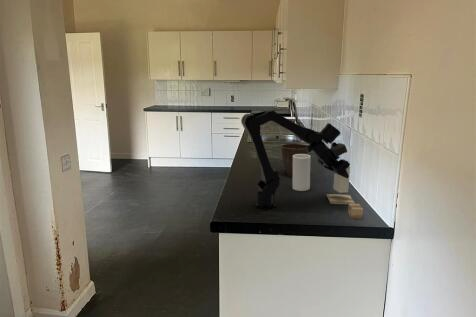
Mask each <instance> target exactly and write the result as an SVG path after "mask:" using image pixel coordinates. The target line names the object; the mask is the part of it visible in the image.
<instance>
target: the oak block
mask: <svg viewBox="0 0 476 317" xmlns="http://www.w3.org/2000/svg"><path fill="white" fill-rule="evenodd" d="M347 211H348V212H347V213H348V215H349V217H350V219H351V220H363V219H364V218H363V215H364V209H363V207H362V206H361V204H360V203H355V204H348V209H347Z"/></svg>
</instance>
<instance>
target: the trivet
mask: <svg viewBox="0 0 476 317" xmlns="http://www.w3.org/2000/svg"><path fill="white" fill-rule="evenodd" d="M326 197H327V199H328V201H329V204H330V205H331V204H332V205H349V204H356V202H355V201H354V199H353V198H352V197H351V195H350V194H330V193H329V194H328V193H327V194H326Z"/></svg>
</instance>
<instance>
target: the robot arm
mask: <svg viewBox="0 0 476 317" xmlns="http://www.w3.org/2000/svg"><path fill="white" fill-rule="evenodd" d="M240 120H241V125H242V127H243V129H244V130H245V132H246V133H247V135H248V137H249V138H250V141H251V143H252V147H253V150H254V152H255V155H256V159H257V162H258V164H259V167H260V178H261V180H260V181H258V182H257V183H256V188H257V190H258V191H257V203H255V204H254V206H255V207H258V208H260V209H263V210H269V209H272V208H275V207H277V204H275V193H276V191H277V189H278V188H279V186H280V185H281V182H280V181H281V178H280V176H279V171H278V170H277V169H276V168H275V167H272V166H271V163H270V160H269V156H268V154H267V151H266V148H265V145H264V142H263V139H262V135H261V126H262V125H264V124H266V123H269V122H272V123H275V124H276V125H278V126H280V127H282V128H283V129H285V130H287V131H289V132H291V133H293V135H294V136H295V137H297V138H298V139H299V140H300V141H302V142H304V143H306V144H305V145H306V150H305V151H307V152H308V154H309V153H311V152H313V153H314V155H315V156H316V158H317V163H318V164H319V165H320V166H322V167H323V168H325V169H327V170H330V171H331V172H333V173H336V174H338V175H341V176H343V177H345V178H348V177H349V178H350V175H348V173H347V171H346V169H347V168H348V167H349V166H350V167H351V163H350V162H349V161H348V160H346V159H342V158H341V159H340V156H341V155H344V154H347V153H348V149H347V147H346V145H345V144H344V143H339V142H338V143H337V142H334V141H335V140H336V139H337V138H338V137H339V136H340V135H341V132H340V130H339V128H337V127H335V126H334V125H332V123H329V122H327V123H326V125H325V126H324V127H323V128H322V129H321V131H318V130H317V131H315V130H313V129H312V128H308V127H306V126H302V125H299V124H297V123H295V122H293V121H292V120H290V119H289V118H287V117H285V116H283V115H281V114H279V113H277V111H275V110H273V109H267V110H264V111H260V112H256V113H245V114H244V115H243V116H242V118H241V119H240ZM326 144H327V145H326ZM328 144H331V145H330V148H329V147H328Z"/></svg>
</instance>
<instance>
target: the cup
mask: <svg viewBox="0 0 476 317" xmlns="http://www.w3.org/2000/svg"><path fill="white" fill-rule="evenodd" d="M310 189H311V155H309V154H308V155H307V154H295V155H293V176H292V190H294V191H299V192H305V191H309V190H310Z"/></svg>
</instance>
